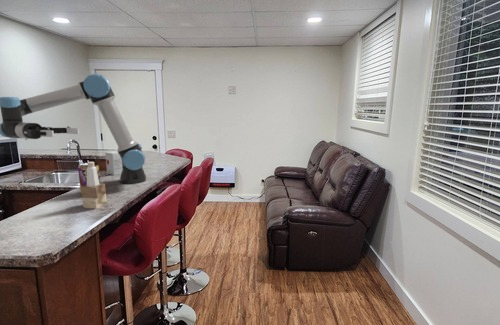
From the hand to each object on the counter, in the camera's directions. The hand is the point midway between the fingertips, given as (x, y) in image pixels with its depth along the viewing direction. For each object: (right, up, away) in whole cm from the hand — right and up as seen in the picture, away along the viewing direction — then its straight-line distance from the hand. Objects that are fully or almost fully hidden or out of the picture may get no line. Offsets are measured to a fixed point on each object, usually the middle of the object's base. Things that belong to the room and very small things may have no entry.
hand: (66, 132), depth 131 cm
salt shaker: (+11, -25, +2) cm, 27 cm away
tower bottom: (+11, -34, +4) cm, 36 cm away
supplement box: (-8, -21, +67) cm, 71 cm away
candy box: (0, -31, +21) cm, 37 cm away
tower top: (+11, -29, +3) cm, 31 cm away
